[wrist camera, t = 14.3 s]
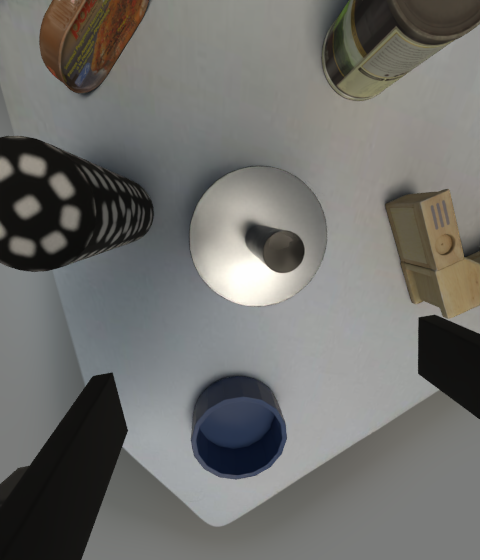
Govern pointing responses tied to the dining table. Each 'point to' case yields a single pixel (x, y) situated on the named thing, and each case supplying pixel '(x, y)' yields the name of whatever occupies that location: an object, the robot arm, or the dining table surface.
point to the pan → (237, 428)
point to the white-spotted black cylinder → (63, 207)
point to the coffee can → (390, 40)
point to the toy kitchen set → (434, 252)
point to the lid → (258, 236)
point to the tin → (87, 38)
